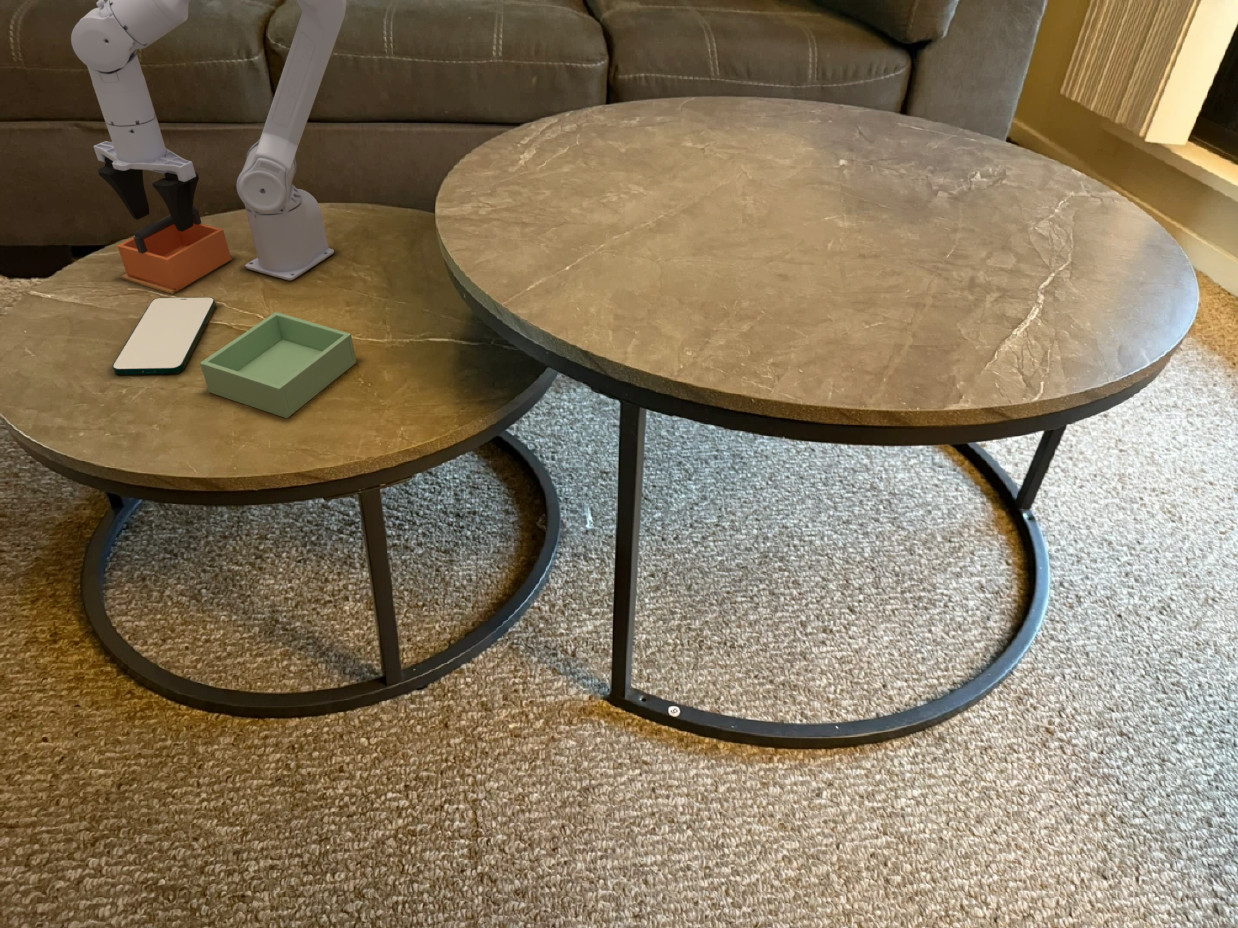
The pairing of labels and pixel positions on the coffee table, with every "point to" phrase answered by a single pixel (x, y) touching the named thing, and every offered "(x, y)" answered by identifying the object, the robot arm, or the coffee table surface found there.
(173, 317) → the smartphone
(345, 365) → the green tray
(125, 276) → the cork pad
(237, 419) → the coffee table surface
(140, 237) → the terracotta tote
